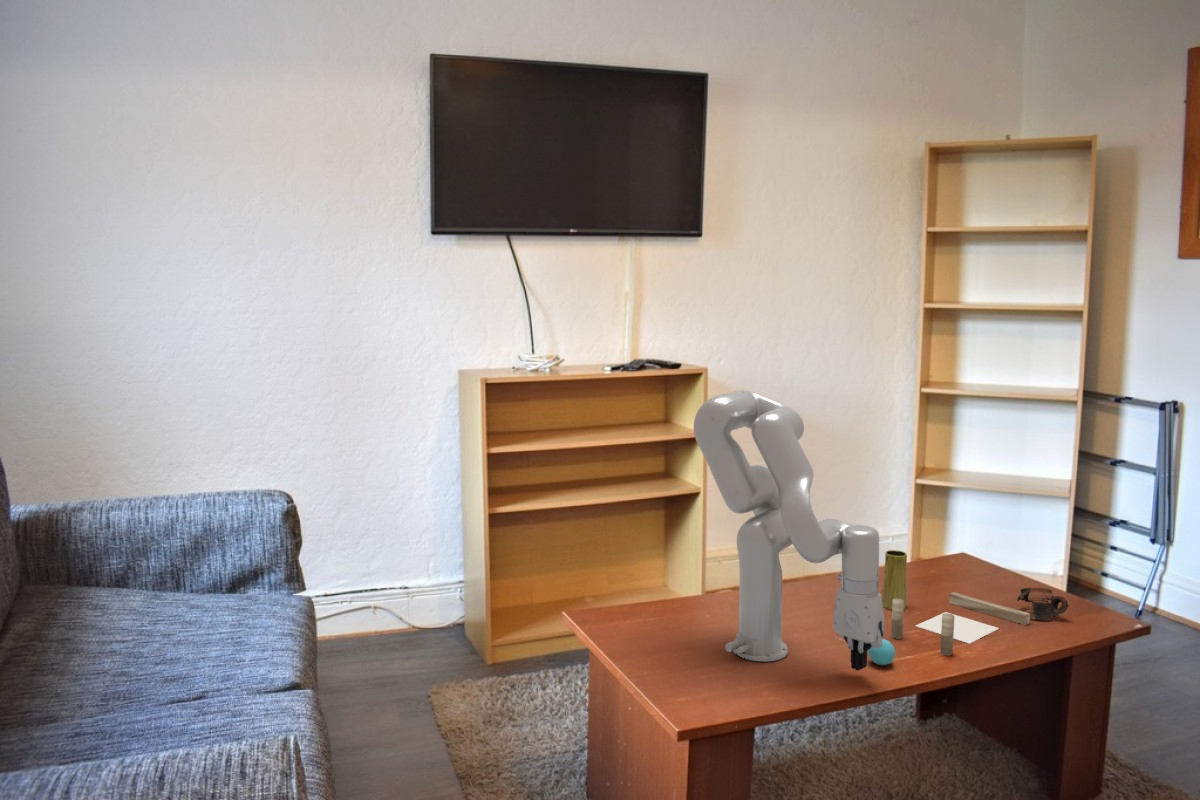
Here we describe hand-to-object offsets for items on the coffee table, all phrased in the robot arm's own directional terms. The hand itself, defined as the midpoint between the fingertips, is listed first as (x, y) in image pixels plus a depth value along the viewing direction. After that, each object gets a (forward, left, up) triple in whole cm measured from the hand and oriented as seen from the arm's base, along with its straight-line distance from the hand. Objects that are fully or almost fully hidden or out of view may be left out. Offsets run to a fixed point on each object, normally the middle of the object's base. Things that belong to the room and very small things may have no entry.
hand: (858, 667), depth 196 cm
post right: (+25, -6, -2) cm, 26 cm away
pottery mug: (+65, -9, -3) cm, 66 cm away
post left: (+25, +7, -2) cm, 26 cm away
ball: (+9, +1, +1) cm, 9 cm away
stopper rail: (+56, +1, -2) cm, 56 cm away
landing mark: (+41, +1, -2) cm, 41 cm away
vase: (+42, +19, -2) cm, 46 cm away
